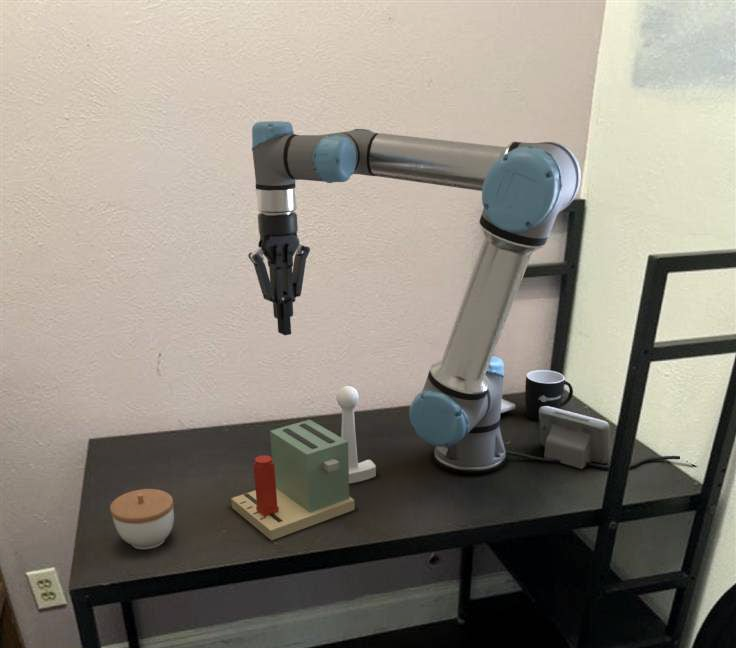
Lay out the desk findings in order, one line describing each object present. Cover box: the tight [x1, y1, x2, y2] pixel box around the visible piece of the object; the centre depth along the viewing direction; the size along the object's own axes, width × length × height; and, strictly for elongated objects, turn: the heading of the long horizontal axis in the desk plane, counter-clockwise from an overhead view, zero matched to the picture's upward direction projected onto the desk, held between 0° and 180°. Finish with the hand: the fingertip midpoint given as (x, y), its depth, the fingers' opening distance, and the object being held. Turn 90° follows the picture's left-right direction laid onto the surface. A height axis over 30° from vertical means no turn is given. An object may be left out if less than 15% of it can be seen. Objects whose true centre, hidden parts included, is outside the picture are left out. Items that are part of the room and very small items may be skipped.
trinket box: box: [109, 488, 175, 550], centre depth 138 cm, size 11×11×9 cm
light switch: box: [501, 398, 517, 414], centre depth 189 cm, size 10×10×5 cm
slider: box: [252, 454, 279, 516], centre depth 142 cm, size 3×3×11 cm
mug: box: [524, 369, 574, 422], centre depth 186 cm, size 12×9×10 cm
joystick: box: [335, 385, 377, 484], centre depth 158 cm, size 11×8×20 cm
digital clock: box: [538, 406, 611, 470], centre depth 166 cm, size 16×9×11 cm, turn 39°
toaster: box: [230, 419, 356, 541], centre depth 146 cm, size 16×18×14 cm
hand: (284, 333), depth 160 cm, fingers closed
